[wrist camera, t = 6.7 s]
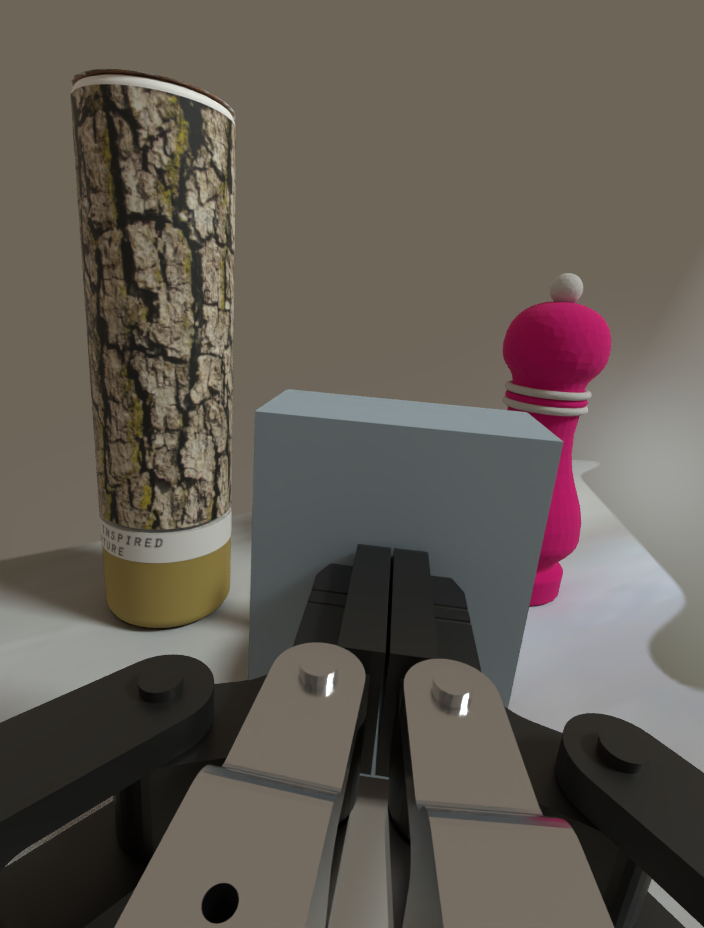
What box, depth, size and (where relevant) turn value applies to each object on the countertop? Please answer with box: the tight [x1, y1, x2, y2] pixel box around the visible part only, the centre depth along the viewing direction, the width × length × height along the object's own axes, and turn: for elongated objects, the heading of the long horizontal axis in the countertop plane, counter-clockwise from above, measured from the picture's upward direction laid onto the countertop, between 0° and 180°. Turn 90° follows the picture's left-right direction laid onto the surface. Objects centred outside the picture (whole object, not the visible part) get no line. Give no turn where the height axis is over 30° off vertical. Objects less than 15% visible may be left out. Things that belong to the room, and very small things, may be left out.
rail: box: [330, 775, 389, 928], centre depth 18 cm, size 6×24×7 cm, turn 175°
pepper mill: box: [502, 273, 611, 606], centre depth 32 cm, size 7×7×20 cm
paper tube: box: [71, 69, 236, 628], centre depth 26 cm, size 7×7×25 cm
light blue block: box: [248, 389, 563, 780], centre depth 13 cm, size 6×3×14 cm, turn 85°
